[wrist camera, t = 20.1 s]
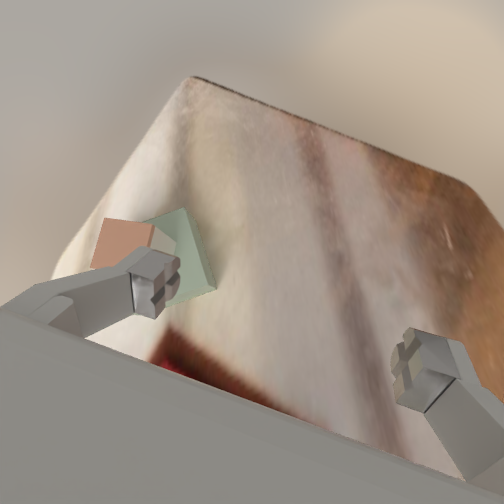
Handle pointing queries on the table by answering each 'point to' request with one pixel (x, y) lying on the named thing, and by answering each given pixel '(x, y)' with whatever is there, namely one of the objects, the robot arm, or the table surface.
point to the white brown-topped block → (127, 241)
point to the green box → (186, 255)
